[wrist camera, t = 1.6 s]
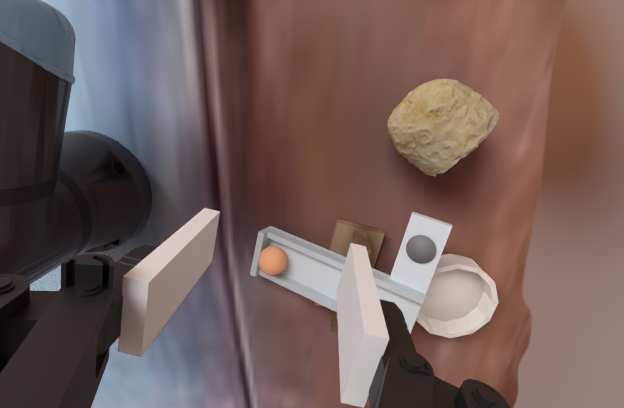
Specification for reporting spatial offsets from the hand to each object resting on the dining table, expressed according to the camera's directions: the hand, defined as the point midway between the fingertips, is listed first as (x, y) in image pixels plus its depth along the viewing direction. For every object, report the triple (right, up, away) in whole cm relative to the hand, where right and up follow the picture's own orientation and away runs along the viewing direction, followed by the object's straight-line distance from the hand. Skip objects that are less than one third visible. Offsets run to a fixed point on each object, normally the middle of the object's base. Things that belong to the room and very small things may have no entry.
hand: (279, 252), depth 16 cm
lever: (+5, -4, +23) cm, 24 cm away
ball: (-3, -4, +24) cm, 25 cm away
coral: (+15, +12, +22) cm, 29 cm away
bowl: (+19, -9, +28) cm, 35 cm away
